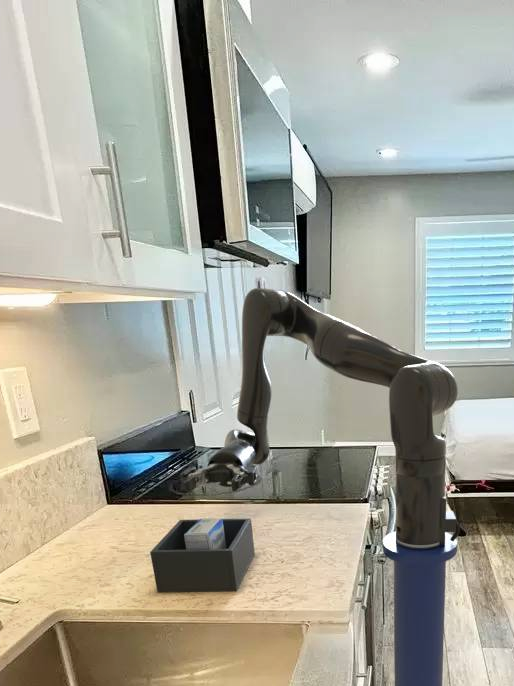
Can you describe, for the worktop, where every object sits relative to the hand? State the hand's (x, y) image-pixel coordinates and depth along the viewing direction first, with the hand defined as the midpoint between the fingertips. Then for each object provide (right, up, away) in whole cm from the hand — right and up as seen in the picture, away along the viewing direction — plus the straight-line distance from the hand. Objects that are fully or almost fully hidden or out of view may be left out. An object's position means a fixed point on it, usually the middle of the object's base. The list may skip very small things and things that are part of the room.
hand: (210, 486), depth 106 cm
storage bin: (0, -16, -2) cm, 16 cm away
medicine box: (+1, -16, -2) cm, 16 cm away
